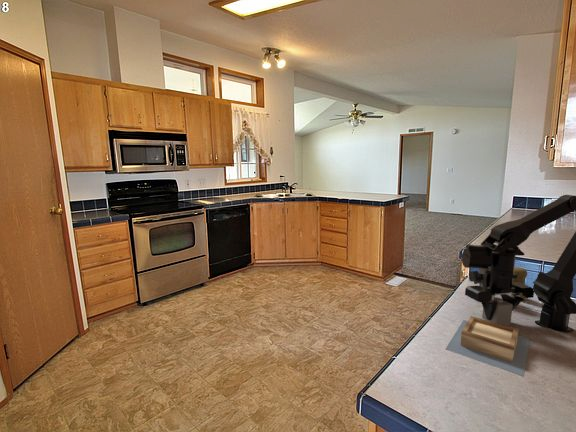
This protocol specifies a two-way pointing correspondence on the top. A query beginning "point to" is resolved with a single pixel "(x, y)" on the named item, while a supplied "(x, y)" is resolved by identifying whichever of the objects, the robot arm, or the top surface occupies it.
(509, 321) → the block
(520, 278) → the cork
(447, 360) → the top surface
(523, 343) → the board
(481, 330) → the wooden tray
